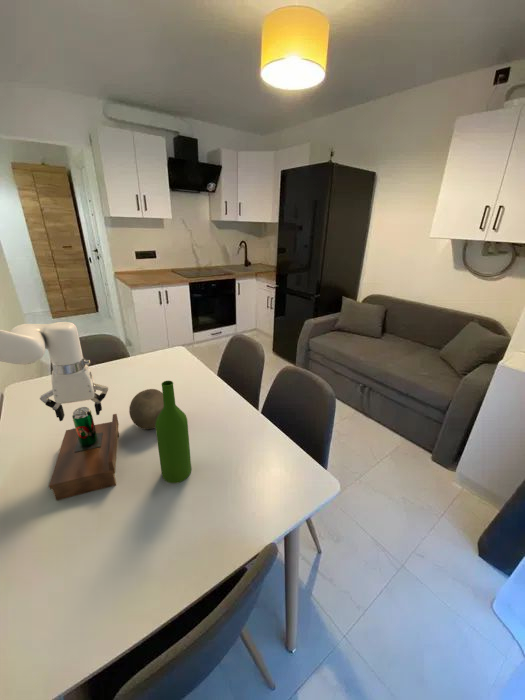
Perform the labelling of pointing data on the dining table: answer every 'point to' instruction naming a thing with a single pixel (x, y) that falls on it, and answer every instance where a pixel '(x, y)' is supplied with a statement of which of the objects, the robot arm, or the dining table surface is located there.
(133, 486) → the dining table surface
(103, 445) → the brown wooden box
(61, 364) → the robot arm
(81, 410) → the soda can
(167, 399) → the wine bottle
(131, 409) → the cantaloupe
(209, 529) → the dining table surface
